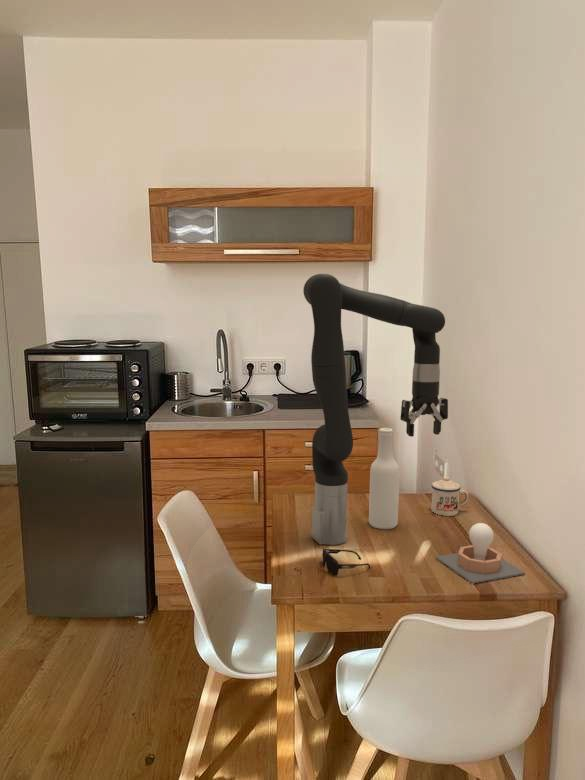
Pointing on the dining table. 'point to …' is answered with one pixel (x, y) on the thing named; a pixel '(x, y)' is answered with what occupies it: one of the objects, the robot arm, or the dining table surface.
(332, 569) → the sunglasses
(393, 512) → the alcohol
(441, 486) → the teacup with lid
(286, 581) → the dining table surface
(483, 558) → the lightbulb
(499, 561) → the ring holder
